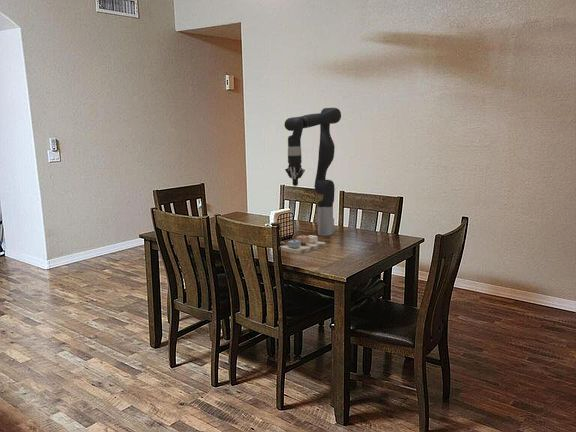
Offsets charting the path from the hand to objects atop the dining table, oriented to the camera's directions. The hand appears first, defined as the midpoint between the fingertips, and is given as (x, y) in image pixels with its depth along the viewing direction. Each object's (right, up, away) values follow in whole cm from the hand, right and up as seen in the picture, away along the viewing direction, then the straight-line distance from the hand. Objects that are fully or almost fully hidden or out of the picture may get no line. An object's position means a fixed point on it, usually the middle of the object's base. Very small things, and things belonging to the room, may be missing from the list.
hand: (295, 185), depth 279 cm
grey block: (-1, -33, -14) cm, 36 cm away
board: (+4, -34, -9) cm, 36 cm away
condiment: (-10, -33, +3) cm, 34 cm away
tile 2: (+4, -31, -9) cm, 32 cm away
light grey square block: (+9, -31, -4) cm, 32 cm away
